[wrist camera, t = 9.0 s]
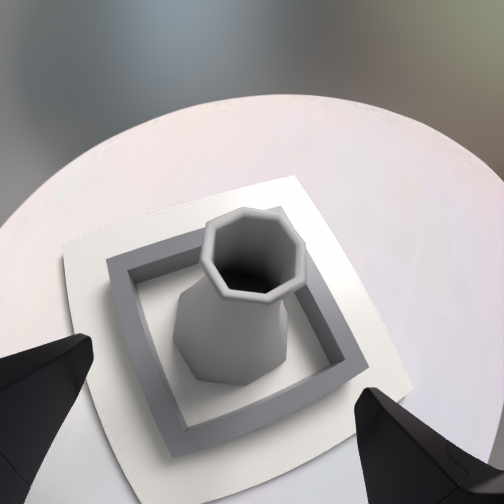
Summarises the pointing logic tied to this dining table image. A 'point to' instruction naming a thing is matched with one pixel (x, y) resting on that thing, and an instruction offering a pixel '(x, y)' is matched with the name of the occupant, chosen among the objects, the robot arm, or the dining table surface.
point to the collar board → (210, 393)
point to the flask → (241, 297)
